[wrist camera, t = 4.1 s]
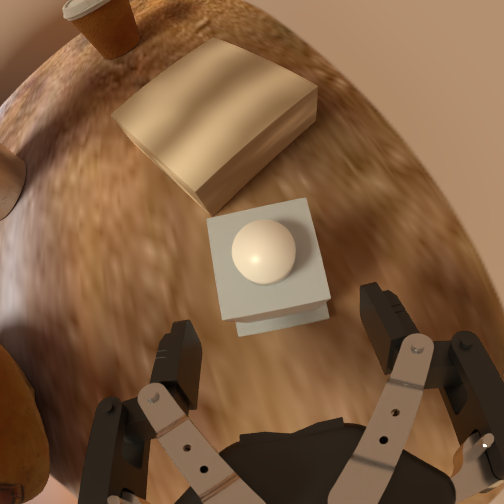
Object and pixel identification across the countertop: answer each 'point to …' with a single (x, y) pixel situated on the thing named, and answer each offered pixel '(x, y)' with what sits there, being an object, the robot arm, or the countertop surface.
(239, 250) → the grey box with knob
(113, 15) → the disposable coffee cup
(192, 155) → the birch block
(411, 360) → the robot arm
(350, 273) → the countertop surface
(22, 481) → the ceramic pitcher
